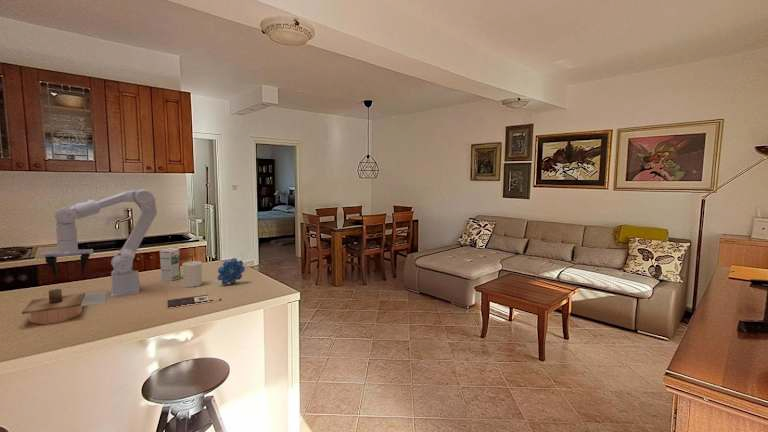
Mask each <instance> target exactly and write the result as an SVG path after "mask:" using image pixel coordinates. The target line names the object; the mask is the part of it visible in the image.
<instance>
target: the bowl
mask: <svg viewBox="0 0 768 432" xmlns="http://www.w3.org/2000/svg"><path fill="white" fill-rule="evenodd" d="M82 312H83V306H82V303H81V306H76V307H69V308H62V309H55V310H48V311H41V312H34V313H28V321H29V322H30V323H31V324H32V323H33V324H40V325H50V324H55V323H62V322H65V321H69V320H70V319H72V318H74V317H77V316H80V315H81V314H82Z"/></svg>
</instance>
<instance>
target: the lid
mask: <svg viewBox="0 0 768 432" xmlns="http://www.w3.org/2000/svg"><path fill="white" fill-rule="evenodd" d="M62 293H63V292H62V289H61V288H58V289H57V288H55V289H50V290H48V297H46V298H45V297H44V298H38V299H37V298H36V299H32V300H31V301H30V302H29V303H28V304H27V305H26V306H25V308H24V309H23V310H22V311H21V315H27V314H29V313H34V312H41V311H48V310H55V309H62V308H69V307H76V306H81V303H82V301H83V299H84V296H85V294H86V293H85V292H82V293H78V294H77V293H76V294H69V295H68V294H66V295H63V294H62Z"/></svg>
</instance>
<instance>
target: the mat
mask: <svg viewBox="0 0 768 432" xmlns="http://www.w3.org/2000/svg"><path fill="white" fill-rule="evenodd" d="M107 295H108V291H107V290H105V291H97V292H96V291H95V292H89V293H85V296H84V299H83V301H82V307H86V306H91V305H92V306H93V305H98V304H105V303H106V298H107Z"/></svg>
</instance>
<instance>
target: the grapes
mask: <svg viewBox="0 0 768 432" xmlns="http://www.w3.org/2000/svg"><path fill="white" fill-rule="evenodd" d="M243 264H244V262H243V260H238V259H237V257H234V258H233V257H232V258H231V259H230V260H225V261H224V262H223V263H222V266H220V267H218V270H217V272H218V275H217V277H216V279H217V280H218V281H221V284H222V285H223V284H225V285H227V284H229V283H234V284H235V283H236V281H237V280H240V279H242V277H243V274H242V273H244V272H245V269H246V267H245V266H243Z"/></svg>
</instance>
